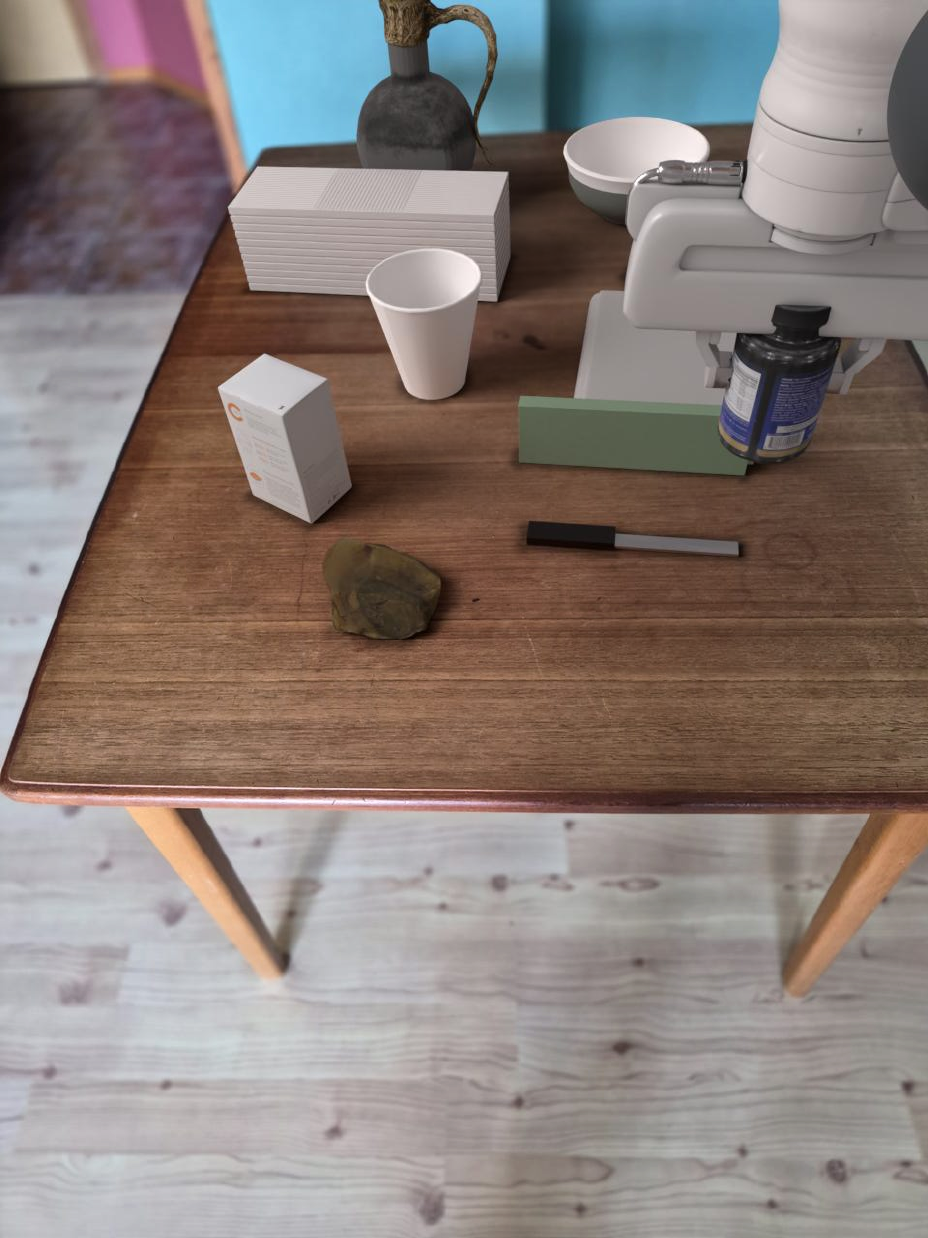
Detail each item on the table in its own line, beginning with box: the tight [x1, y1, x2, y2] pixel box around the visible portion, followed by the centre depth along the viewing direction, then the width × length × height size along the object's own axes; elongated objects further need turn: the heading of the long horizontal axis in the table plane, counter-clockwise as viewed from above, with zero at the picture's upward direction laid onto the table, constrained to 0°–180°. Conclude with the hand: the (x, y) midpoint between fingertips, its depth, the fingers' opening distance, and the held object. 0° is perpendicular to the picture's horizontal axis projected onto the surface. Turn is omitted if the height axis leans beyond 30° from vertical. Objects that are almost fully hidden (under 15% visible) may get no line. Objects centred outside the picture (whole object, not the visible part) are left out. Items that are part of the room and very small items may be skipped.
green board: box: [517, 395, 749, 476], centre depth 85 cm, size 22×2×7 cm, turn 81°
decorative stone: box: [321, 536, 442, 640], centre depth 77 cm, size 10×9×4 cm
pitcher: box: [356, 0, 499, 171], centre depth 112 cm, size 11×19×30 cm, turn 76°
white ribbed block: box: [227, 165, 512, 302], centre depth 110 cm, size 32×11×11 cm, turn 79°
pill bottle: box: [717, 305, 842, 465], centre depth 55 cm, size 6×6×11 cm
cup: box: [366, 248, 483, 401], centre depth 94 cm, size 12×12×12 cm
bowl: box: [563, 116, 711, 226], centre depth 117 cm, size 19×19×8 cm
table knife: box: [525, 520, 740, 558], centre depth 81 cm, size 19×2×1 cm, turn 81°
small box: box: [217, 353, 353, 525], centre depth 83 cm, size 8×6×13 cm
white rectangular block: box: [573, 289, 754, 466], centre depth 94 cm, size 18×4×24 cm
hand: (774, 385), depth 57 cm, fingers closed on pill bottle, 6 cm apart
